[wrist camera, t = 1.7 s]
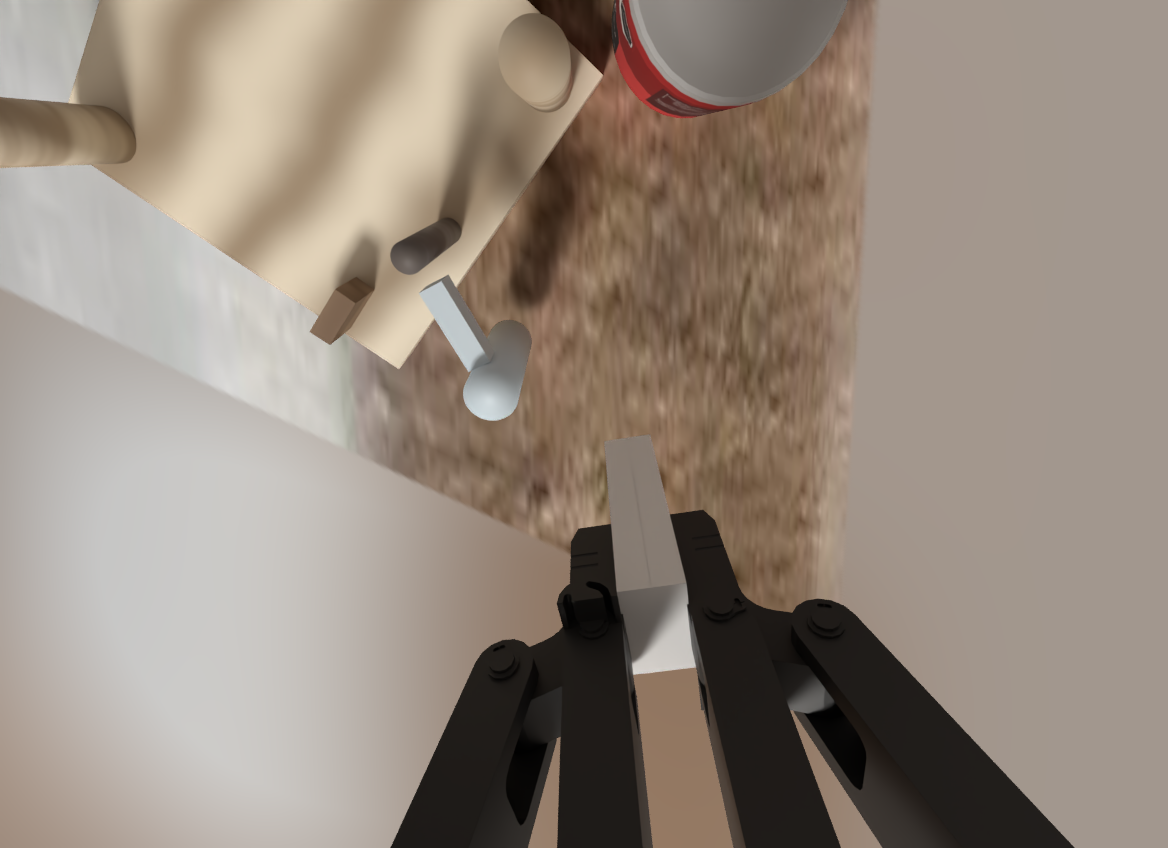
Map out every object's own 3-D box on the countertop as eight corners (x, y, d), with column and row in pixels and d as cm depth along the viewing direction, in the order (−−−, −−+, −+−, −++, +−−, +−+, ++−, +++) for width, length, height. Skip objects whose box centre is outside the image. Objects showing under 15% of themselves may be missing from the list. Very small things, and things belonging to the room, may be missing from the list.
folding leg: (502, 367, 33) (481, 428, 26) (442, 267, 30) (400, 305, 23) (539, 350, 32) (528, 407, 25) (481, 246, 29) (451, 278, 22)
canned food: (692, -115, 25) (766, -287, 15) (790, 33, 27) (908, -30, 17) (577, 28, 27) (576, -38, 17) (678, 151, 30) (726, 153, 20)
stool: (95, 141, 29) (-129, 140, 20) (237, -278, 22) (-13, -586, 13) (410, 355, 35) (349, 429, 26) (601, 80, 28) (612, 48, 19)
